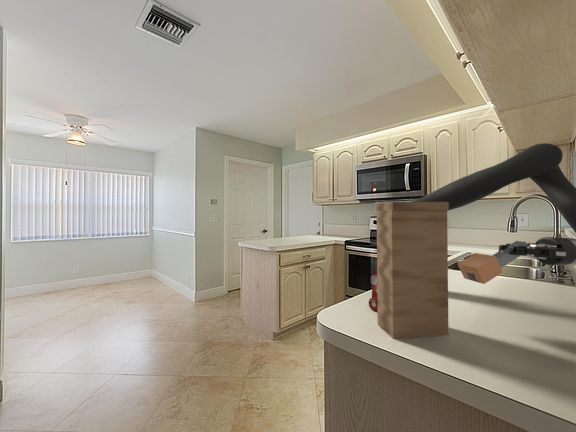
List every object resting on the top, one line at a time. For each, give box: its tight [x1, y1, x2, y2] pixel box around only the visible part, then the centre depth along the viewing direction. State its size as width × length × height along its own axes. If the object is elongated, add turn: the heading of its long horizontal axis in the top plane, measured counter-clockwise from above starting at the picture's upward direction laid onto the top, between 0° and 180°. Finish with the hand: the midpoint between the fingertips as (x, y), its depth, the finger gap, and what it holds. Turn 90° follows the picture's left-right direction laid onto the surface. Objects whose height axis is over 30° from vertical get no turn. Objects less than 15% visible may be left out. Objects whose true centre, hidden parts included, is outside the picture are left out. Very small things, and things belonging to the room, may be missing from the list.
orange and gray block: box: [457, 240, 528, 285], centre depth 68 cm, size 6×17×4 cm, turn 98°
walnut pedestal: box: [375, 201, 450, 340], centre depth 66 cm, size 9×14×32 cm, turn 96°
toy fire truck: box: [368, 274, 378, 312], centre depth 78 cm, size 7×12×10 cm, turn 31°
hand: (505, 249), depth 68 cm, fingers closed on orange and gray block, 2 cm apart
